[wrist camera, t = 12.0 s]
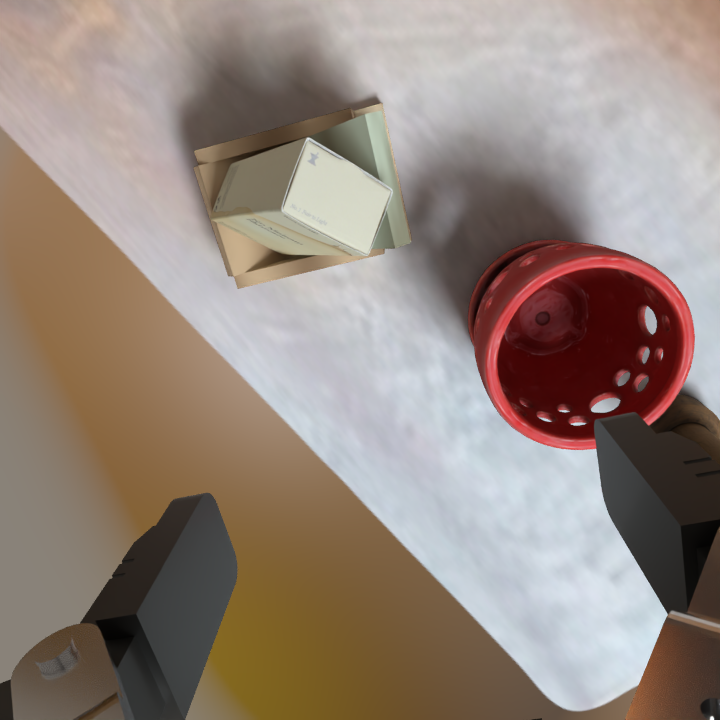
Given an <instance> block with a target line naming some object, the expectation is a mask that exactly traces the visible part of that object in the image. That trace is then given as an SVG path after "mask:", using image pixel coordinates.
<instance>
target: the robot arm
mask: <svg viewBox="0 0 720 720" xmlns="http://www.w3.org/2000/svg"><path fill="white" fill-rule="evenodd" d="M594 433H595V441H596V449H597V456H598V464H599V472H600V479H601V487H602V493H603V497H604V501H605V504H606V507H607V510H608V513H609V515H610V517H611V519H612V521H613V523H614V525H615V526H616V528H617V530H618V531H619V533H620V535H621V536H622V538H623V540H624V541H625V543H626V545H627V546H628V548H629V550H630V551H631V553H632V555H633V556H634V558H635V560H636V561H637V563H638V565H639V566H640V568H641V570H642V572H643V573H644V575H645V577H646V578H647V580H648V582H649V583H650V585H651V587H652V588H653V590H654V592H655V593H656V595H657V597H658V598H659V600H660V602H661V603H662V605H663V607H664V608H665V610H666V612H667V613H668V616H667V618H666V620H665V622H664V624H663V627H662V629H661V632H660V634H659V637H658V639H657V642H656V644H655V647H654V649H653V651H652V654H651V656H650V659H649V661H648V664H647V666H646V669H645V671H644V674H643V676H642V679H641V681H640V683H639V686H638V689H637V691H636V693H635V696H634V698H633V701H632V703H631V706H630V708H629V710H628V713H627V715H626V718H625V720H720V464H719V463H718V462H716V461H715V460H712V457H711V456H710V455H709V454H708V453H707V452H706V451H705V450H704V449H703V448H702V447H701V446H700V445H699V444H698V443H696V442H695V441H693V440H690V439H688V438H686V437H683V436H681V435H679V434H676V433H674V432H672V431H669V432H664V433H658V434H656V433H655V432H654V431H653V430H652V429H651V428H650V427H649V425H648V424H647V423H646V422H645V421H644V420H643V419H642V418H641V417H640V416H639V415H638V414H637V413H635V412H632V413H627V414H622V415H616V416H611V417H606V418H601V419H596V420H595V422H594ZM112 577H113V578H112V579H109V581H108V582H107V584H106V585H105V587H104V588H103V590H102V591H101V593H100V594H99V596H98V597H97V599H96V600H95V602H94V603H93V605H92V606H91V608H90V609H89V611H88V612H87V614H86V615H85V617H84V618H83V620H82V621H81V622H80V624H76V625H72V626H69V627H66V628H64V629H61V630H59V631H57V632H55V633H53V634H51V635H50V636H48V637H46V638H45V639H43V640H42V641H40V642H39V643H38V644H36V645H35V646H34V647H33V648H32V649H31V650H29V651H28V653H26V654H25V655H24V657H23V658H22V659H21V660H20V661H19V663H18V664H17V666H16V667H15V669H14V671H13V673H12V677H11V680H8V681H5V682H3V683H1V684H0V720H185V718H186V715H187V713H188V710H189V708H190V705H191V702H192V699H193V697H194V694H195V691H196V688H197V686H198V683H199V681H200V678H201V675H202V672H203V670H204V667H205V664H206V662H207V659H208V656H209V654H210V651H211V648H212V645H213V643H214V640H215V637H216V635H217V632H218V629H219V626H220V624H221V621H222V618H223V616H224V613H225V610H226V608H227V605H228V602H229V600H230V597H231V594H232V591H233V589H234V586H235V583H236V579H237V560H236V555H235V551H234V549H233V546H232V543H231V541H230V538H229V535H228V532H227V530H226V527H225V524H224V522H223V519H222V517H221V514H220V511H219V508H218V506H217V503H216V501H215V499H214V497H213V496H212V495H211V494H210V493H203V494H198V495H193V496H188V497H183V498H177V499H174V500H173V501H172V502H171V503H170V505H169V506H168V508H167V509H166V511H165V513H164V514H163V516H162V517H161V519H160V520H159V522H158V523H157V525H156V526H153V527H152V528H150V529H149V530H148V531H147V532H146V533H145V534H144V535H143V536H141V537H140V538H139V539H138V540H137V541H136V542H134V544H133V545H132V547H131V548H130V550H129V551H128V552H127V554H126V556H125V557H124V558H123V560H122V564H120V565H119V566H118V568H117V569H116V570H115V572H114V573H113V575H112ZM533 720H542V718H541V719H533Z"/></svg>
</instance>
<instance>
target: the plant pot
mask: <svg viewBox="0 0 720 720" xmlns="http://www.w3.org/2000/svg"><path fill="white" fill-rule="evenodd" d="M647 306H648V307H649V308H650V309H651V310H652V311H653V312H654V314H655V317H656V320H657V328H656V332H655V333H654V334H653V335H652V334H651V333H650V332H649V331H648V329H647V327H646V324H645V309H646V307H647ZM468 327H469V333H470V337H471V341H472V343H473V345H474V349H475V358H476V362H477V366H478V370H479V373H480V376H481V379H482V382H483V385H484V387H485V389H486V391H487V394H488V396H489V398H490V400H491V401H492V403H493V405H494V407H495V408H496V410H497V411H498V412H499V414H500V415H501V416H502V417H503V419H504V420H505V421H506V422H507V423H508V424H509V425H510V426H511V427H513V428H514V429H515V430H517V431H518V432H520V433H521V434H523V435H524V436H526V437H528V438H530V439H532V440H534V441H536V442H538V443H541V444H544V445H548V446H551V447H556V448H561V449H570V450H585V449H596V441H595V433H594V422H595V420H596V419H601V418H606V417H611V416H616V415H622V414H627V413H632V412H635V413H637V414H638V415H639V416H640V417H641V418H642V419H643V420H644V421H645V422H646V423H647V424H648V425H650V424H652V423H653V422H654V421H655V420H656V419H658V418H659V417H660V416H661V415H662V414H663V413H664V412H665V411H666V409H667V408H668V407H669V406H670V405H671V404H672V402H673V401H674V399H675V398H676V396H677V395H678V393H679V391H680V390H681V388H682V386H683V384H684V382H685V380H686V378H687V376H688V373H689V370H690V367H691V364H692V359H693V352H694V342H695V334H694V326H693V320H692V315H691V312H690V309H689V307H688V304H687V302H686V300H685V298H684V297H683V295H682V293H681V292H680V291H679V289H678V288H677V287H676V285H675V284H674V283H673V282H672V281H671V280H670V279H669V278H668V277H667V276H666V275H664V274H663V273H662V272H660V271H659V270H658V269H656V268H655V267H653V266H651V265H650V264H648V263H646V262H644V261H642V260H640V259H638V258H636V257H634V256H631V255H629V254H626V253H623V252H620V251H617V250H612V249H609V248H606V247H602V246H598V245H593V244H586V243H571V242H567V241H561V240H540V241H534V242H530V243H526V244H523V245H521V246H518V247H516V248H514V249H512V250H510V251H508V252H507V253H505V254H503V255H502V256H501V257H499V258H498V259H497V260H496V261H494V262H493V263H492V264H491V265H490V266H489V267H488V268H487V269H486V270H485V272H484V273H483V274H482V276H481V277H480V279H479V281H478V282H477V284H476V286H475V289H474V291H473V293H472V296H471V300H470V304H469V311H468ZM646 348H649V350H650V354H649V357H648V360H647V362H646V363H645V364H643V362H642V356H643V353H644V351H645V350H646ZM662 351H663V358H662V360H661V354H662ZM626 372H630V378H629V380H628V381H627V382H626V383H625V384H624V385H622V386H618V385H617V383H618V380H619V378H620V377H621V376H622V375H623V374H624V373H626ZM645 377H649V381H648V383H647V385H646V387H645V388H644V389H643V390H642V391H640V392H638V385H639V383H640V382H641V381H642V380H643V379H644V378H645ZM607 398H618V399H620V400H621V401H620V404H619V406H618V407H617V408H616V409H614V410H612V411H610V412H607V413H594V412H592V411H591V408H592V406H593V405H595V404H596V403H597V402H599V401H601V400H604V399H607ZM522 404H523V405H522ZM524 405H525V406H524ZM559 410H567V411H570V412H566V413H564V412H560V411H559ZM538 417H542V418H546V419H548V420H550V421H552V422H547V421H543V420H541V419H539V418H538ZM575 422H583V423H587V424H585V425H580V426H573V425H571V423H575Z"/></svg>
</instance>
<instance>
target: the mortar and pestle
mask: <svg viewBox="0 0 720 720" xmlns="http://www.w3.org/2000/svg"><path fill="white" fill-rule="evenodd" d="M649 427H650V428H651V429H652V430H653V431H654V432H655V433H656V434H658V433H664V432H669V431H672V432H674V433H676V434H679V435H681V436H683V437H686V438H688V439H690V440H693V441H695V442H696V443H698V444H699V445H700V446H701V447H702V448H703V449H704V450H705V451H706V452H707V453H708V454H709V455H710V456H711V457H712V460H715V461H716V462H718V463H719V464H720V420H719V419H718V417H717V416H716V415H715V414H714V413H713V412H712V411H711V410H709V409H708V408H707V407H705V406H704V405H703V404H702V403H701V402H699V401H698V400H696V399H694V398H692V397H689V396H686V395H679V394H678V395H677V396H676V398H675V399H674V401H673V402H672V404H671V405H670V406H669V407H668V408H667V409H666V411H665V412H664V413H663V414H662V415H661V416H660V417H659V418H658V419H656V420H655V421H654V422H653V423H652V424H650V425H649Z"/></svg>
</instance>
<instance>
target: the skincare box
mask: <svg viewBox="0 0 720 720" xmlns="http://www.w3.org/2000/svg"><path fill="white" fill-rule="evenodd" d="M392 194H393V190H392V189H391V188H390V187H389V186H387V185H386V184H384V183H383V182H381V181H380V180H378V179H377V178H375V177H373V176H372V175H370V174H369V173H367V172H366V171H364V170H362V169H361V168H359V167H358V166H356V165H355V164H353V163H351V162H350V161H348V160H346V159H345V158H343V157H341V156H340V155H338V154H336V153H335V152H333V151H331V150H329V149H328V148H326V147H324V146H323V145H321V144H319V143H317V142H316V141H314V140H313V139H311V138H309V137H306V138H303V139H300V140H297V141H295V142H292V143H289V144H286V145H283V146H280V147H278V148H275V149H272V150H269V151H267V152H263V153H261V154H258V155H255V156H252V157H249V158H247V159H244V160H241V161H238V162H235V163H232V164H231V165H230V167H229V170H228V172H227V174H226V177H225V179H224V182H223V184H222V187H221V189H220V192H219V194H218V197H217V200H216V202H215V205H214V208H213V211H212V214H211V217H210V218H211V220H213V221H215V222H217V223H219V224H221V225H223V226H225V227H227V228H229V229H231V230H233V231H235V232H237V233H239V234H241V235H243V236H245V237H247V238H249V239H251V240H253V241H255V242H257V243H259V244H261V245H264V246H266V247H268V248H270V249H272V250H274V251H276V252H278V253H281V254H289V255H335V256H368V255H369V253H370V251H371V248H372V246H373V243H374V241H375V238H376V236H377V233H378V231H379V228H380V226H381V223H382V221H383V218H384V216H385V213H386V210H387V208H388V205H389V202H390V200H391V197H392Z"/></svg>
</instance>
